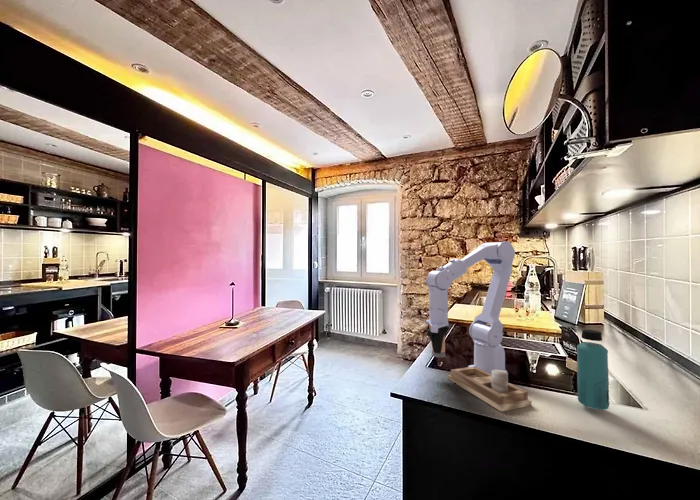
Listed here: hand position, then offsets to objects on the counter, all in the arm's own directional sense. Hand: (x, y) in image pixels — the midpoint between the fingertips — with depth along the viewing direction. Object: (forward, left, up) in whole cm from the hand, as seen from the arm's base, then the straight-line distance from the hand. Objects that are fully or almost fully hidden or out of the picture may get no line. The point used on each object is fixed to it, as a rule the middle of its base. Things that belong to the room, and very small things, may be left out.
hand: (438, 350), depth 98 cm
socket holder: (-7, +13, -8) cm, 17 cm away
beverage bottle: (-25, +30, -9) cm, 40 cm away
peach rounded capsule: (0, 0, -2) cm, 2 cm away
